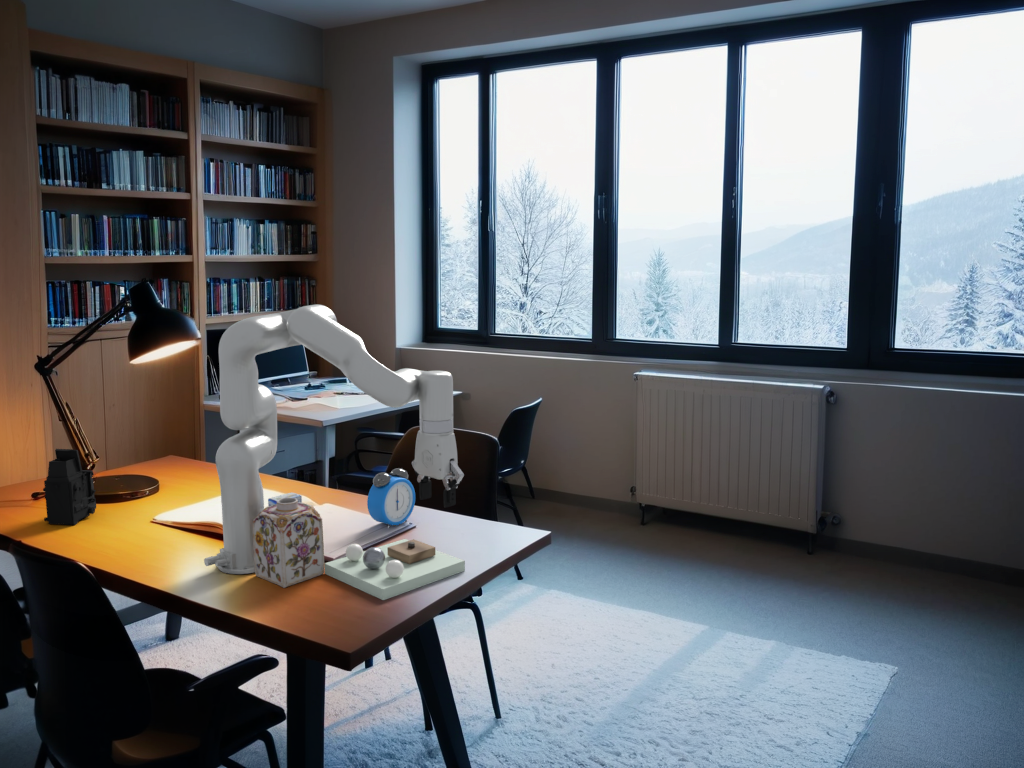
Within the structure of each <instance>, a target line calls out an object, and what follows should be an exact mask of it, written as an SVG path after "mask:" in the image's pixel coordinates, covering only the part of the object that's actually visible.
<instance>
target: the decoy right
mask: <svg viewBox="0 0 1024 768" xmlns="http://www.w3.org/2000/svg"><path fill="white" fill-rule="evenodd" d="M403 571H404V566H403V564H402V563H401V562H400V561H399V560H391V561H389V562H388V563H387V565H386V573H387V575H388V576H389V577H391V578H398V577H400V576H401V575H402V573H403Z"/></svg>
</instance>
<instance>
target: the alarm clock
mask: <svg viewBox="0 0 1024 768" xmlns="http://www.w3.org/2000/svg"><path fill="white" fill-rule="evenodd" d="M372 483H373V484H372V486H371V487H370V489H369V492H368V495H367V499H366V500H367V503H366V504H367V511H368V514H369V516H370V517H371V518H372V519H373V520H374V521H376V522H379V523H382V524H386V525H388V526H390V527H391V526H393V525H396V526H399V524H400V525H402V524H403V523H407V522H408V521H407V520H408V519H409V518H410V517H411V515H412V512H413V510H414V507H415V503H416V492H415V488H414V485H413V484H412V482H411V481H410V480H409V474H408V471H407V470H405V469H403V467H401V468H400V467H398V468H394V469H392V470H391V472H389V473H387V472H384V471H383V472H378V473H377V474H375V476H374V477H373V479H372ZM388 526H387V527H388Z"/></svg>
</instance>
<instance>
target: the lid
mask: <svg viewBox="0 0 1024 768" xmlns="http://www.w3.org/2000/svg"><path fill="white" fill-rule="evenodd" d="M409 540H410V541H406V542H403V543H400V544H397V545H394V546H390V547H388V556H390V557H393V558H395V559H398V560H400V561H403V562H406V563H408V564H411V563H414V562H417V561H420V560H423V559H426V558H429V557H432V556H435V550H436V546H433V545H430V544H429V543H425V542H422V541H420V540H417V539H414V538H413V539H409Z"/></svg>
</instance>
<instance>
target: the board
mask: <svg viewBox="0 0 1024 768" xmlns="http://www.w3.org/2000/svg"><path fill="white" fill-rule="evenodd" d="M410 540H411V539H407V538H404V539H400V540H397V541H393V542H391V543H390V542H389V543H386V544H383V545H380V546H377V548H380V549H381V550H382V551H383V552H384V554H385V561H384V564H383V565H382V566H381V567H380V568H378V569H374V570H373V569H369V568H367V567H366V566H365V564H364V562H363V555H364V553H365V551H366V550H363V555H362V557H361V558H360V559H359V560H357V561H351V560H349V559H348V558H347V556H344V557H340V558H338V559H337V558H336V559H334V560H331V561H328V562H324V575H327V576H329V577H331V578H334V579H336V580H338V581H340V582H342V583H344V584H347V585H349V586H351V587H353V588H356V589H357V590H359V591H362V592H364V593H366V594H368V595H370V596H372V597H375V598H378V599H380V600H382V601H386V600H388V599H390V598H394V597H396V596H400V595H402V594H405V593H407V592H409V591H413V590H416V589H418V588H422V587H424V586H427V585H430V584H432V583H435V582H437V581H438V582H439V581H440V580H443V579H447V578H448V577H451V576H454V575H457V574H460V573H462V572H465V571H466V561H465V560H464V559H461V558H459V557H455V556H453V555H450V554H448V553H445V552H442V551H440V550H437V549H435V556H432V557H429V558H426V559H423V560H420V561H417V562H414V563H411V564H408V563H406V562H403V561H400V560H399V561H400V562H401V563H402V564H403V566H404V571H403V573H402V575H401V576H400V577H398V578H391V577H389V576H388V575H387V573H386V565H387V563H388V562H389V561H391V560H398V559H395V558H393V557H390V556H388V547H390V546H394V545H397V544H400V543H403V542H406V541H410Z"/></svg>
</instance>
